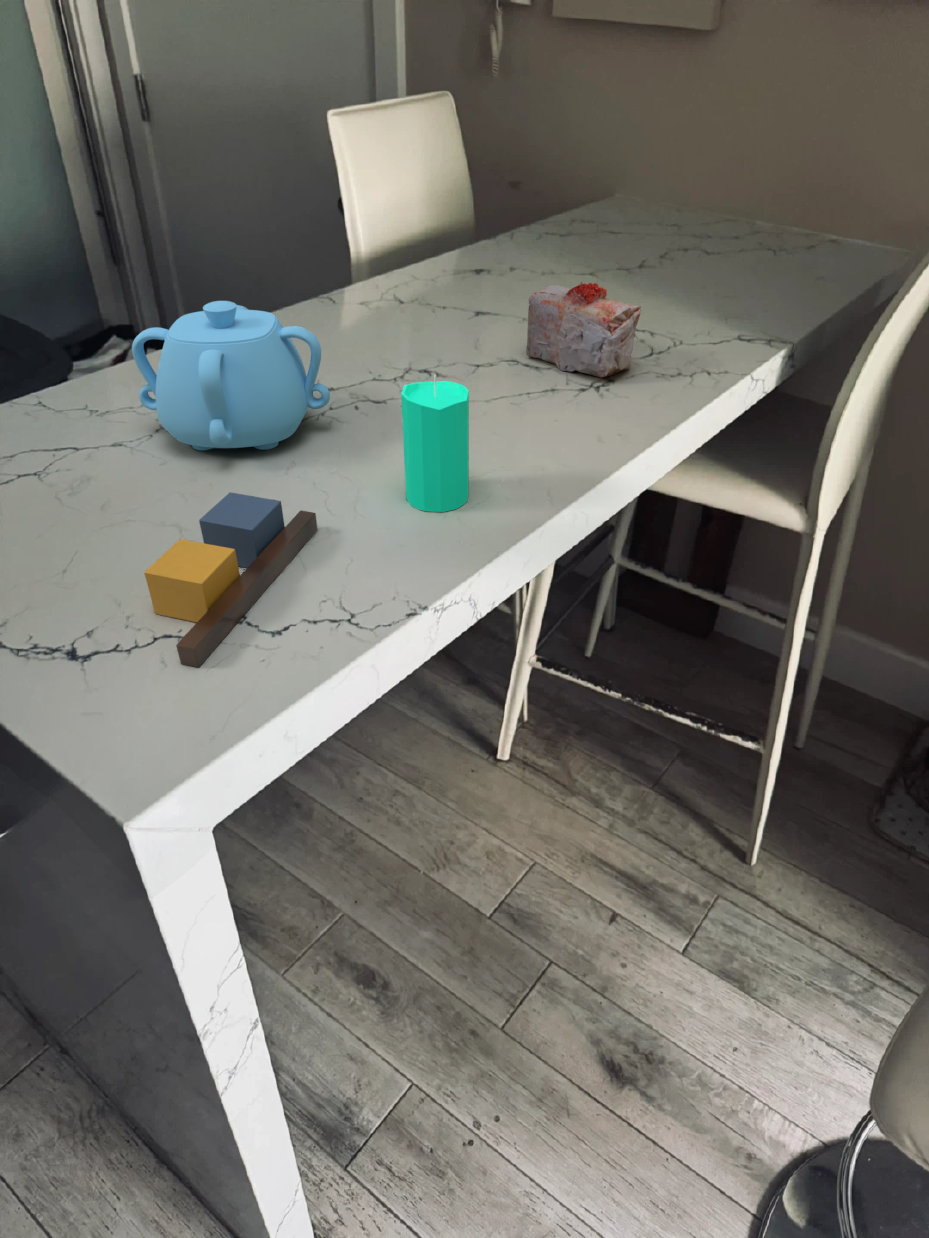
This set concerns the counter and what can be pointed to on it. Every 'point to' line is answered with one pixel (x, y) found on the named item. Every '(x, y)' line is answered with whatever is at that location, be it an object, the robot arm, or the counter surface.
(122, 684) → the counter surface
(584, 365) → the food item
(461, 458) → the candle
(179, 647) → the straightedge
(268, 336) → the decorative pot
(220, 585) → the ochre block
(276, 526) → the slate block
